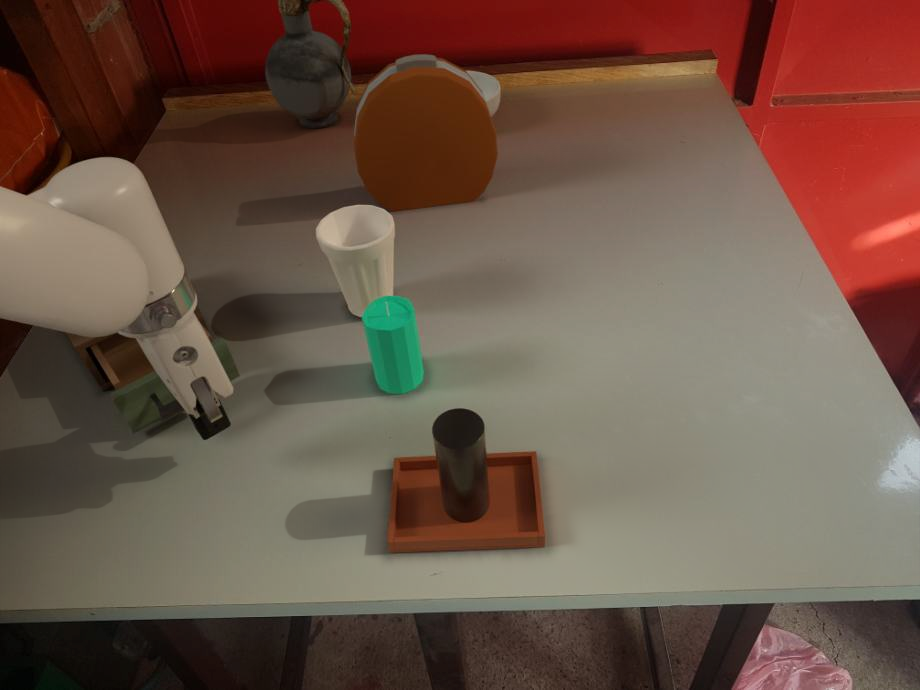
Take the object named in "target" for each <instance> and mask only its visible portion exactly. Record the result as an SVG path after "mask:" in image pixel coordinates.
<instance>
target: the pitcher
mask: <svg viewBox="0 0 920 690" xmlns="http://www.w3.org/2000/svg"><path fill="white" fill-rule="evenodd" d="M320 1H322V0H277V4H278V5H277V6H278V11H279V13H280V14H281V18H282V23H283V28H284V32H285V34H284V35H282V36H281V37H279V38H278V39H277V40H276V41H275V42H274V43H273V45H272V46H271V48H270V49H269V51H268V54H267V57H266V60H265V66H264V67H265V69H264V74H265V80H266V83H267V87H268V88H269V90H270V92H271V94H272V96H273V98H274V100H275V101H276V103H277V104H278V105H279V106H280V107H281V108H282V109H283V110H285V112H288V113H290V115H293V116H295V117H297V118H298V123H299V124H300V125H301V126H302V127H304V128H308V129H323V128H327V127H330V126H332V125H333V124H336V122H337V121H338V119H339V117H338V113H337V112H336V111H338V110H339V109H340V108H341V107H342V105H343V104H344V103H345V101H346V99H347V97H348V95H349V92H350V91H351V92H352V93H353V94H354V95H355V96H358V93H357V89H356V88H355V87H354V85H355V84H354V83H353V82H352V73H351V70H352V69H351V66H350V63H349V60H348V58H347V56H346V53H347V50H348V46H349V42H350V35H351V27H352V23H351V19H350V18H351V17H350V12H349V10H348V8H347V6H346V5H345V2H344V1H343V0H323V2H328V3H330V4H332V5H333V6H334V7H335V8H336V9H337V10H338V12H339V14H340V16H341V18H342V19H341V20H342V23H343V30H342V31H343V42H342V46H341V45H340V44H339V42H337V41H336V40H335V39H333V38H332V37H331V36H329V35H327V34H325V33H323V32H321V31H316V30H313V26H312V21H311V16H310V10H311V6H310V4H312V3H318V2H320Z"/></svg>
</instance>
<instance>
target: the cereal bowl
mask: <svg viewBox="0 0 920 690" xmlns="http://www.w3.org/2000/svg"><path fill="white" fill-rule="evenodd" d="M466 71H467V73H468V74H469V75H470V77H471V78H472V79H473V80H474V82H475V83H476V84H477V85H478V87H479V88H480V89H481V90H482V93H483V95H484V98H485V101H486V104H487V106H488V109H489V112H490V115H491V118H492V117H493V116H495V114H496V112H497V111H498V109H499V106H500V102H501V90H502V89H501V84H500V82H499V80H498V79H497V78H496V77H495V76H493V75H490V74H488V73H486V72H481V71H476V70H466Z"/></svg>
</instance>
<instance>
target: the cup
mask: <svg viewBox="0 0 920 690" xmlns="http://www.w3.org/2000/svg"><path fill="white" fill-rule="evenodd" d="M393 217H394V216H393V215H392V214H391V213H389V212H388V211H387V209H386V208H382V207H379V206H376V205H373V204H355V205H349V206H343V207H341V208H338V209H336V210H334V211H332V212H329V213H328V214H327V215H326V216H324V217H323V218H321V220H320V221H319V223H318V224H317V226H316V228H315V237H316V240H317V243H318V246H319V248H320V250H321V251H322V252H323V254H324V255H325V256H326V257H327V260H328V262H329V265H330V266H331V269H332V271H333V275H334V276H335V278H336V280H337V283H338V286H339V288H340V290H341V292H342V295H343V298H344V300H345V302H346V305H347V308H348V310H349V311H350V313H351V314H352V315H354V316H357V317H359V318H362V315H363V313H364V311H365V309H366V308H367V307H368V306H369V305H370V304H371V302H372V301H373V300H376V299H378V298H381V297H383V296H394V262H395V261H394V259H395V255H394V254H395V251H394V249H395V237H396V227H395V226H396V225H395V221H394V218H393Z"/></svg>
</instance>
